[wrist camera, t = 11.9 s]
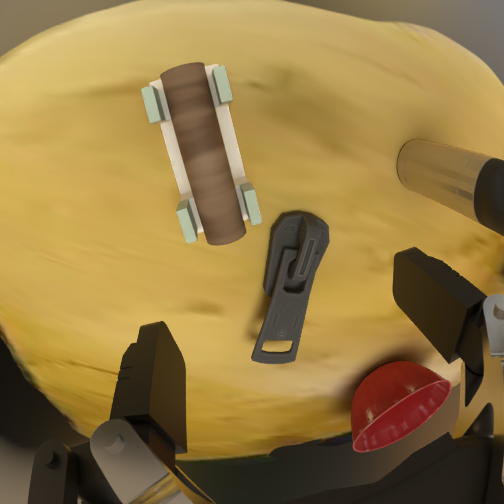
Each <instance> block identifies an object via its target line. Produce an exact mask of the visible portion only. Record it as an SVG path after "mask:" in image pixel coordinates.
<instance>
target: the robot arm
mask: <svg viewBox="0 0 504 504" xmlns="http://www.w3.org/2000/svg"><path fill="white" fill-rule="evenodd" d="M397 170H398V175H399V178H400V180H401V182H402V184H403V185H404V186H405V187H406V188H408V189H410V190H412V191H414V192H417V193H419V194H421V195H423V196H425V197H428V198H430V199H432V200H434V201H436V202H438V203H440V204H442V205H445V206H447V207H449V208H451V209H453V210H455V211H457V212H459V213H461V214H463V215H465V216H467V217H469V218H471V219H473V220H474V221H476V222H478V223H480V224H482V225H484V226H486V227H487V228H489V229H491V230H493V231H495V232H497V233H499V234H500V235H502V236H504V160H501V159H497V158H494V157H491V156H487V155H484V154H480V153H476V152H473V151H469V150H465V149H461V148H457V147H453V146H449V145H444V144H440V143H435V142H431V141H425V140H420V139H413V140H411V141H409V142H407V143H406V144H405V145H404V146H403V148H402V149H401V151H400V154H399V157H398V162H397ZM393 296H394V299H395V302H396V303H397V305H398V306H399V307H400V308H401V310H402V311H403V312H404V313H405V314H406V315H407V316H408V317H409V318H410V319H411V321H412V322H413V323H414V324H415V325H416V326H417V327H418V328H419V330H420V331H421V332H422V333H423V334H424V335H425V336H426V338H427V339H428V340H429V341H430V342H431V343H432V345H433V346H434V347H435V348H436V349H437V350H438V352H439V353H440V354H441V355H442V356H443V358H444V359H445V360H446V361H447V362H448V364H450V363H452V362H453V361H455V360H456V359H458V358H461V359H462V360H463V362H462V364H461V391H460V411H459V417H458V420H457V423H456V425H455V428H454V432H453V436H452V437H451V435H450V434H449V432H447V433H446V434H444V435H443V436H441V437H439V438H438V439H436V440H435V441H433V442H431V443H430V444H428V445H426V446H425V447H423V448H421V449H419V450H417V451H416V452H414V453H413V454H412V455H410V456H409V457H408V458H407V459H406V460H405V461H403V462H402V463H401V464H400V465H399V466H397V467H396V468H395V469H394V470H392V471H391V472H390V473H388V474H387V475H386V476H385V477H383V478H382V479H381V480H379V481H377V482H375V483H372V484H367V485H360V486H355V487H348V488H341V489H333V490H326V491H323V492H319V493H316V494H313V495H309V496H306V497H302V498H299V499H295V500H291V501H286V502H283V503H280V504H504V295H500V294H495V295H491V296H489V297H487V296H486V295H485V294H484V293H483V292H481V291H480V290H479V289H478V288H477V287H475V286H474V285H473V284H472V283H470V282H469V281H468V280H466V279H465V278H464V277H463V276H460V275H459V273H457V272H456V271H455V270H452V268H451V267H450V266H448V265H447V264H446V263H444V262H443V261H441V260H438V259H436V258H433V257H430V256H427V255H426V254H425V253H423V252H422V251H421V250H419V249H418V248H416V247H412V248H409V249H407V250H404V251H401V252H398V253H396V254H395V256H394V271H393ZM181 453H187V434H186V367H185V362H184V359H183V356H182V353H181V351H180V350H179V348H178V346H177V344H176V342H175V340H174V339H173V337H172V335H171V333H170V331H169V329H168V327H167V325H166V324H165V322H163V321H160V322H155V323H151V324H147V325H143V326H141V327H140V330H139V334H138V339H137V343H132V344H130V346H129V347H128V349H127V350H126V352H125V353H124V355H123V357H122V362H121V366H120V371H119V375H118V381H117V384H116V388H115V393H114V398H113V403H112V408H111V414H110V419H109V420H108V421H106V422H104V423H102V424H101V425H100V426H98V427H97V429H96V430H95V431H94V433H93V435H92V437H91V440H90V442H87V443H84V444H81V445H78V446H75V447H72V448H68V447H67V446H66V445H64V444H63V443H62V442H60V441H59V440H54V439H53V440H48V441H46V442H45V443H43V444H42V445H41V446H40V447H39V449H38V450H37V452H36V455H35V458H34V464H33V469H32V475H31V481H30V489H29V497H28V504H77V500H78V498H79V499H81V500H82V502H81V504H216V503H215V502H213V500H211V499H210V498H209V497H208V496H207V495H206V494H205V493H204V492H202V490H200V489H199V488H198V487H197V486H196V485H195V484H194V483H193V482H192V481H191V480H190V479H189V478H188V477H187V476H186V475H185V474H184V473H183V472H182V471H181V470H180V469H179V468H178V467H177V466H176V465H175V454H181Z"/></svg>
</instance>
